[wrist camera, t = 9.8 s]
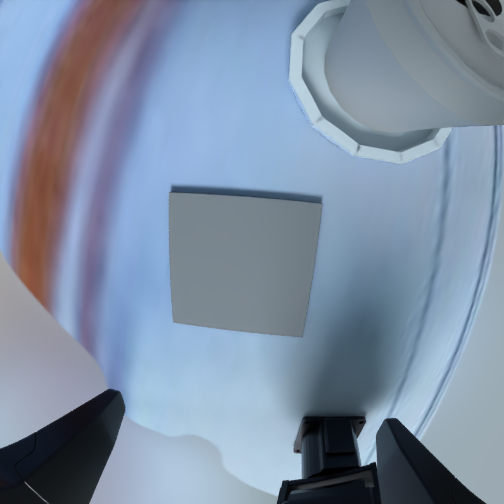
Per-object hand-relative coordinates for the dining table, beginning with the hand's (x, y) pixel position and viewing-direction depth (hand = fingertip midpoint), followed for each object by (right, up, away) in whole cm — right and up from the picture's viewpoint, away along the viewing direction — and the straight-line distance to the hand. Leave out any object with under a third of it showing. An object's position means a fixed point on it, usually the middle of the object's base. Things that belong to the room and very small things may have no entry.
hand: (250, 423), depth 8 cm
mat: (-1, +4, +12) cm, 13 cm away
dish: (+8, +17, +7) cm, 20 cm away
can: (+8, +16, +7) cm, 20 cm away
